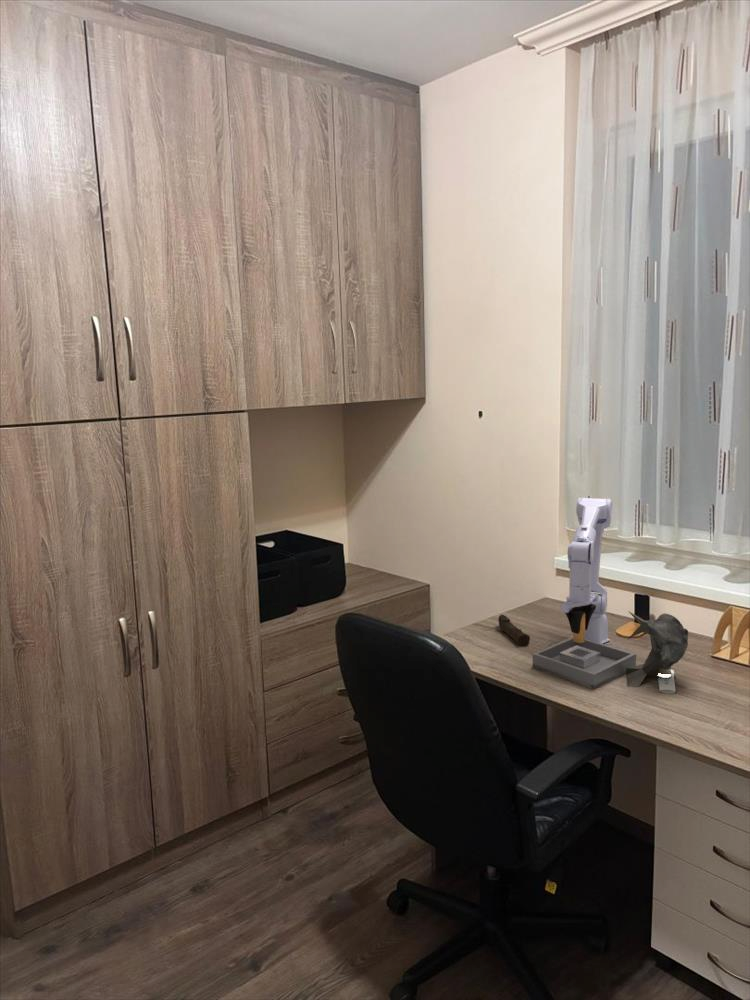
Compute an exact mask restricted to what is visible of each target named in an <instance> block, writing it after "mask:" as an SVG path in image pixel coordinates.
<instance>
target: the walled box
mask: <svg viewBox="0 0 750 1000" xmlns="http://www.w3.org/2000/svg"><path fill="white" fill-rule="evenodd" d="M576 645H577V646H581V647H584V648H587V649H590V650H593V651H597V652H600V653H601V658H600V662H598V663H595V664H593V665H591V666H589V667H587V668H585V669H582V668H579V667H576V666H573V665H570V664H567V663H564V662H561V661H560V652H562V651H565V650H567V649H569V648H571V647H574V646H576ZM633 666H637V654H636V653H634V652H632V651H631V652H630V651H627V650H624V649H621V648H618V647H613V646H611V645H608V644H605V643H604V644H601V643H598V642H595V641H591V640H588V639H585V642H583V643H576V642H574V641H573V636H571V637H569V638H567V639H564V640H562V641H559V642H557V643H555V644H552V645H550V646H548V647H545V648H543V649H541V650H539V651H536V652H534V653H532V668H533V669H537V670H540V671H542V672H544V673H548V674H551V675H554V676H556V677H560V678H561V679H564V680H566V681H567V680H568V681H570V682H573V683H575V684H578V685H581V686H584V687H587V688H589V689H592V690H595V689H597V688H599V687H601V686H603V685H605V684H607V683H608V682H611V681H613V680H615V679H616V678H619V677H621V676H623V675H624V674H626V668H629V667H633Z"/></svg>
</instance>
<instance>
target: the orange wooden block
mask: <svg viewBox="0 0 750 1000" xmlns="http://www.w3.org/2000/svg"><path fill="white" fill-rule="evenodd" d="M572 633H573V632H572ZM572 637H573V641H574V642H576V643H583V642H585V613H584V614H583V616H582V619H581V624H580V632H579V633H578V634H576V633H573V635H572Z"/></svg>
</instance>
